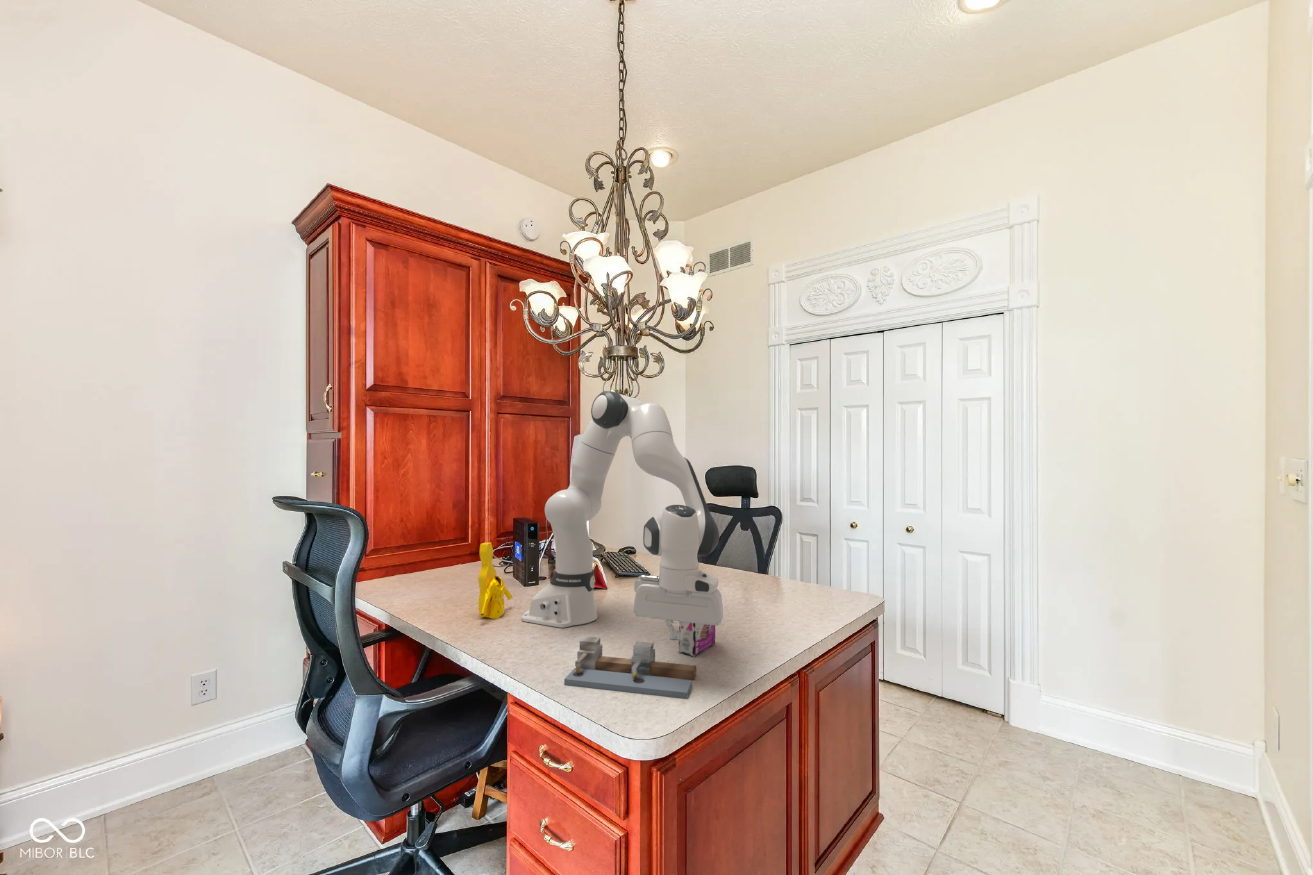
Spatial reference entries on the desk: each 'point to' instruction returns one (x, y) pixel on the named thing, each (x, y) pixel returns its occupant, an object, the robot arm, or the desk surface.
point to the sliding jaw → (642, 658)
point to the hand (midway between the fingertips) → (676, 639)
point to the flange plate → (629, 683)
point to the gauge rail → (625, 662)
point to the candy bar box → (696, 638)
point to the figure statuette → (490, 586)
